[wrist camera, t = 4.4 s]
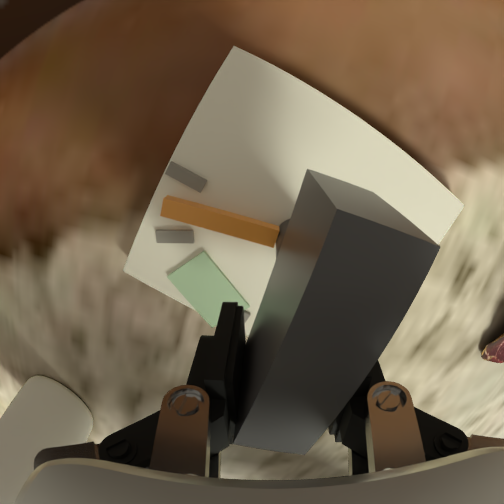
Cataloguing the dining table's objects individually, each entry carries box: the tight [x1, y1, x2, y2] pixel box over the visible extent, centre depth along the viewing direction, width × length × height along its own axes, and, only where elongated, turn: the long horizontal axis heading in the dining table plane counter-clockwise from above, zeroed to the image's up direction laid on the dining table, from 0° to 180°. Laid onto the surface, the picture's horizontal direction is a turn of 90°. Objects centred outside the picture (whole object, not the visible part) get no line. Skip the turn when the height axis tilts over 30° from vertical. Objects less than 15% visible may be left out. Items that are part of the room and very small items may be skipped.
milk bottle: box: [0, 375, 93, 504], centre depth 14 cm, size 8×8×20 cm
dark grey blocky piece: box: [160, 169, 440, 455], centre depth 10 cm, size 7×7×8 cm
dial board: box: [123, 46, 464, 337], centre depth 15 cm, size 13×12×1 cm
